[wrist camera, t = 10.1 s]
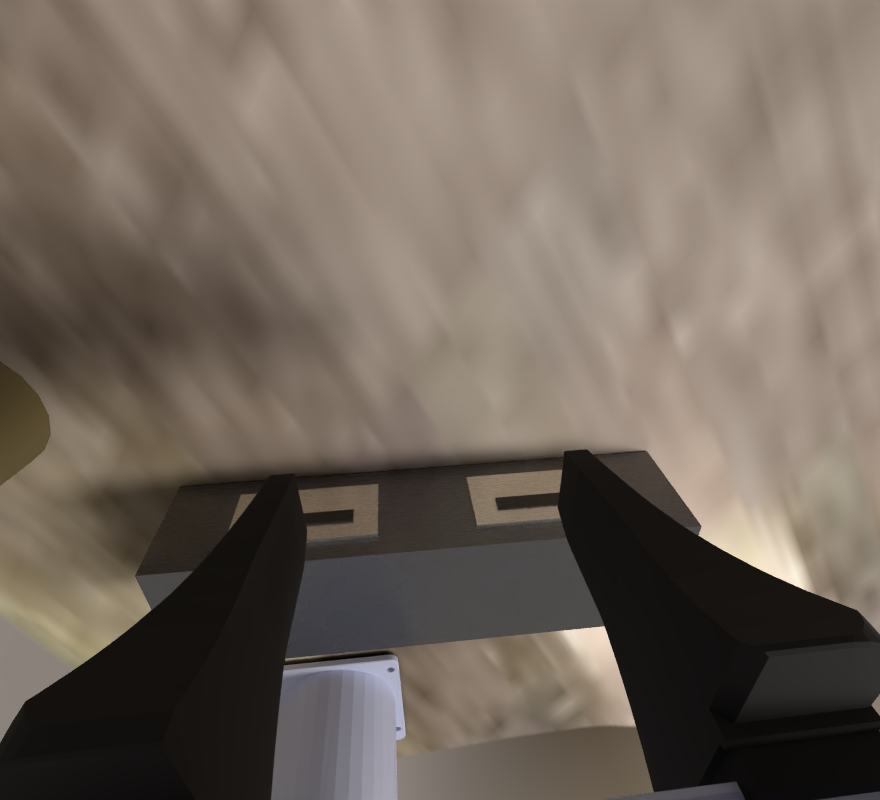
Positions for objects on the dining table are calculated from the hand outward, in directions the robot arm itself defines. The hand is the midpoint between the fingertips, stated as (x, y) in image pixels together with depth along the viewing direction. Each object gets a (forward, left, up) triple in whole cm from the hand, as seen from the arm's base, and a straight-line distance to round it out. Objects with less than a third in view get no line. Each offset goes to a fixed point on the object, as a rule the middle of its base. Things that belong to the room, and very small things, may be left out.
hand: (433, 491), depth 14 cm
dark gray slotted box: (-9, 0, -8) cm, 12 cm away
